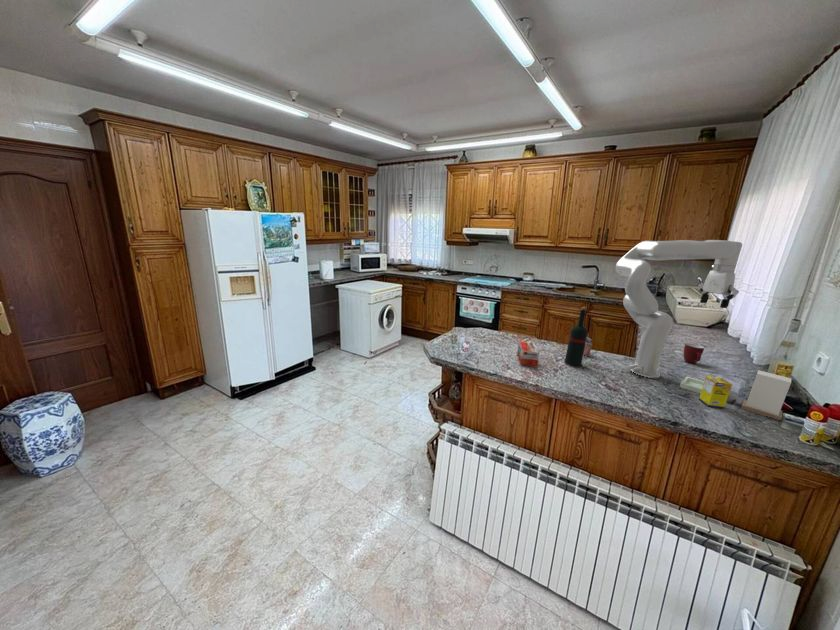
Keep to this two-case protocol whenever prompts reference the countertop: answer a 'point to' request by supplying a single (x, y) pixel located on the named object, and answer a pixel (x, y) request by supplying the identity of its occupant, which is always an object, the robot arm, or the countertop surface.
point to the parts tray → (692, 384)
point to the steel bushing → (732, 397)
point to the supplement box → (715, 392)
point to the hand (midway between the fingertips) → (713, 305)
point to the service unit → (767, 395)
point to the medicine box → (527, 354)
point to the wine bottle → (577, 342)
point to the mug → (692, 353)
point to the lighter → (587, 347)
